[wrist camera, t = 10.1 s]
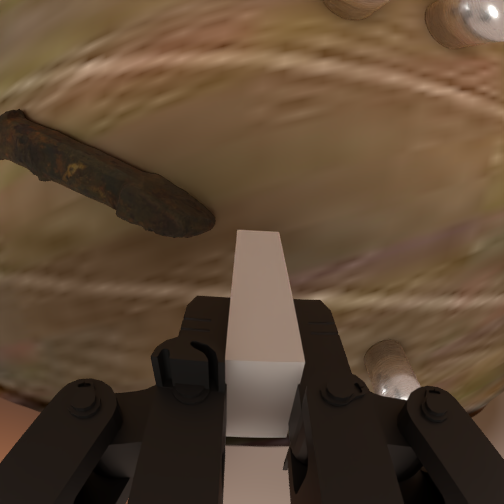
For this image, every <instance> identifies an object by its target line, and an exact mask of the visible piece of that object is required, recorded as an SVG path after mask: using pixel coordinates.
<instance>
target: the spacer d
mask: <svg viewBox="0 0 504 504" xmlns="http://www.w3.org/2000/svg"><path fill="white" fill-rule="evenodd" d="M425 21H426V25H427V28H428V30H429V32H430V33H431V35H432V36H433V37H434V39H435V40H436V41H437V42H439V43H440V44H441V45H443V46H445V47H447V48H451V49H456V48H462V47H468V46H474V45H480V44H486V43H493V42H501V41H504V0H439V1H437V2H434V3H432V4H431V5H429V6H428V8H427V9H426V12H425Z"/></svg>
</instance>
